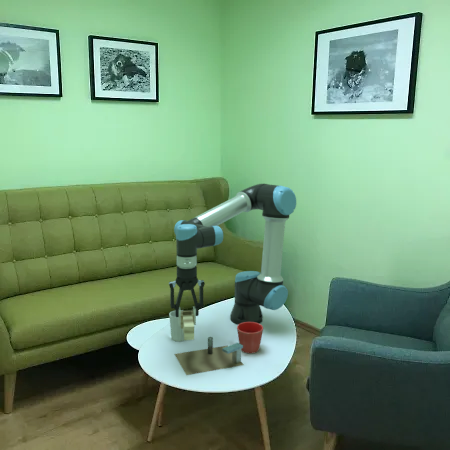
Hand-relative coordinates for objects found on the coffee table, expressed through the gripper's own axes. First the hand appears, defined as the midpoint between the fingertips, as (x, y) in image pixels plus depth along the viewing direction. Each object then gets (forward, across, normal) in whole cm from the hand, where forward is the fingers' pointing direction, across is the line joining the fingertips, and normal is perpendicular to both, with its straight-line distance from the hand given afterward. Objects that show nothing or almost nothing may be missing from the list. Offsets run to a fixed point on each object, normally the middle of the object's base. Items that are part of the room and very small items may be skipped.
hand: (187, 324), depth 179 cm
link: (0, 0, -5) cm, 5 cm away
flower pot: (+15, +26, +4) cm, 30 cm away
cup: (+15, -2, +16) cm, 22 cm away
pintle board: (+14, +8, -4) cm, 17 cm away
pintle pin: (+14, +9, +1) cm, 17 cm away
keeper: (+13, +16, -9) cm, 23 cm away
